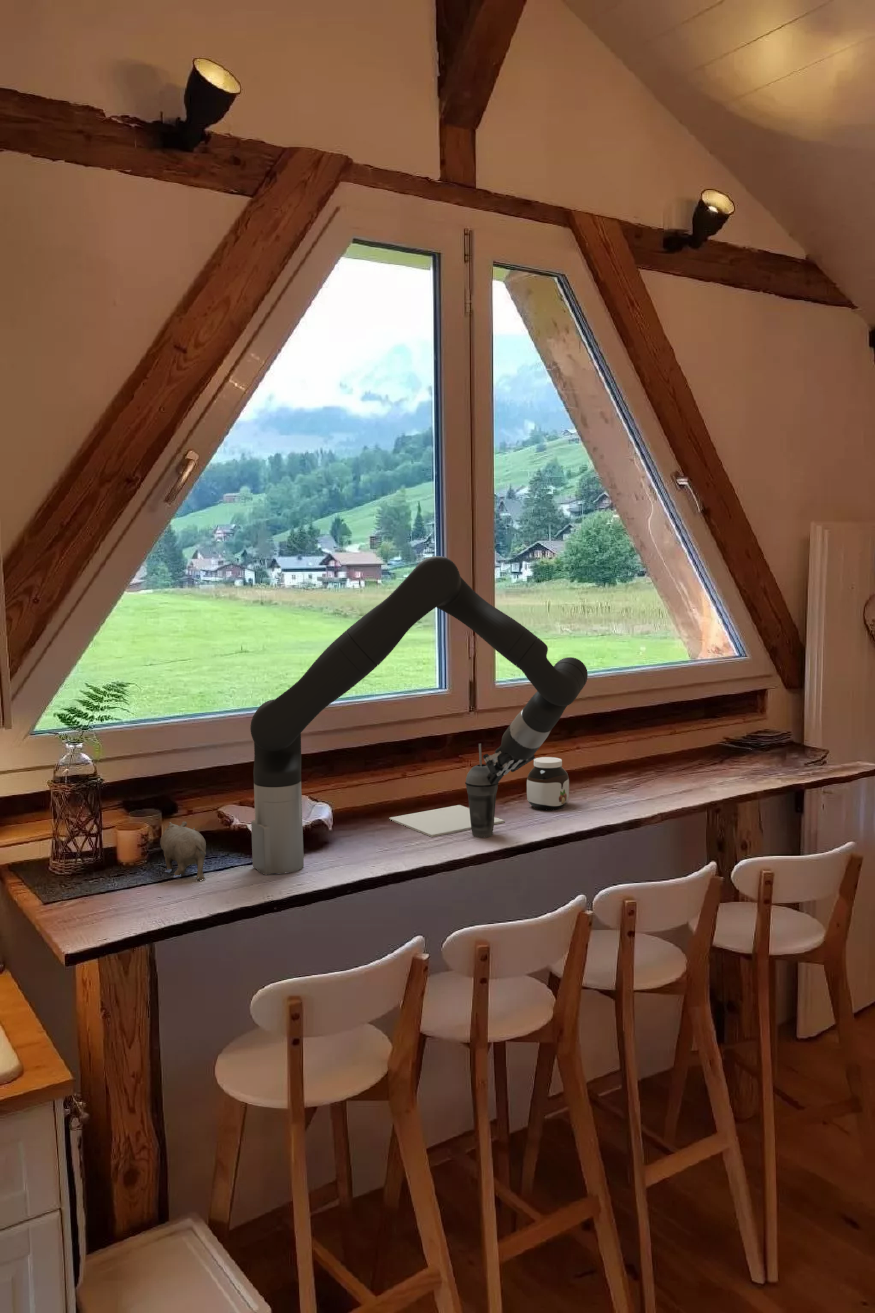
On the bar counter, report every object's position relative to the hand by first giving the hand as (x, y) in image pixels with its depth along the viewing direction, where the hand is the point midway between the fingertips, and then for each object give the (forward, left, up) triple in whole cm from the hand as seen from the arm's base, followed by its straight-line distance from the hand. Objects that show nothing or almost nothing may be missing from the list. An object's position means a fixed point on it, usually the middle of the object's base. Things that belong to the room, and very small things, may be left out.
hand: (491, 780), depth 216 cm
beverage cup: (0, +4, -13) cm, 13 cm away
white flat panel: (0, +18, -13) cm, 22 cm away
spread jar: (+28, +16, -13) cm, 35 cm away
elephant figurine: (-62, +19, -13) cm, 66 cm away
